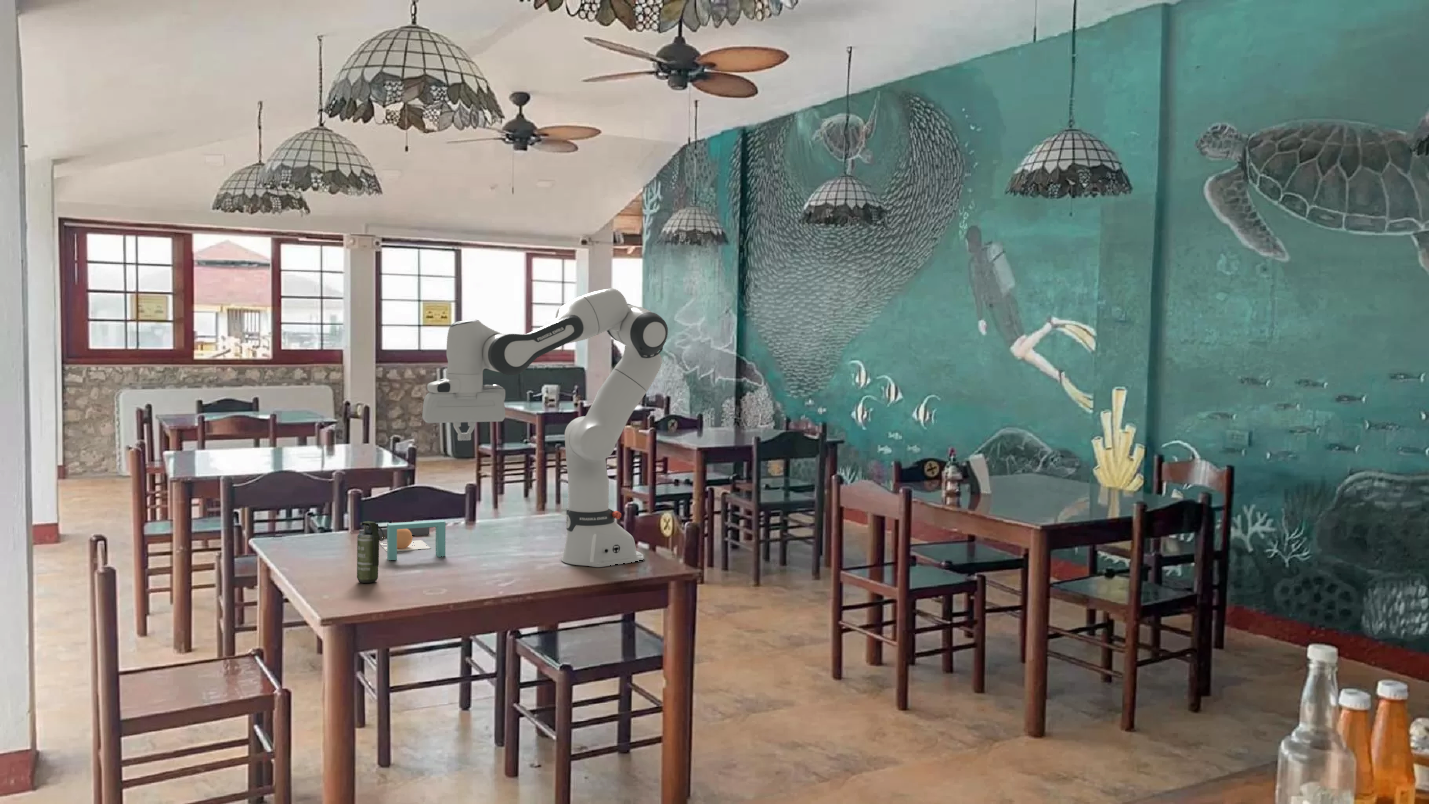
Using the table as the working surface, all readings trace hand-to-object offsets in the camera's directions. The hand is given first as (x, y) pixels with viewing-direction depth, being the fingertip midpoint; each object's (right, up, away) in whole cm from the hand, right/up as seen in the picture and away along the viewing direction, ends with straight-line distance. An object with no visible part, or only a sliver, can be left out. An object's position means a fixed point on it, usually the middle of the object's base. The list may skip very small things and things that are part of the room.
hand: (464, 440), depth 273 cm
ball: (-26, -29, +36) cm, 53 cm away
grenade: (-23, -35, -3) cm, 42 cm away
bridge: (-19, -33, +25) cm, 45 cm away
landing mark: (-26, -32, +39) cm, 57 cm away
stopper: (-33, -31, +52) cm, 69 cm away
